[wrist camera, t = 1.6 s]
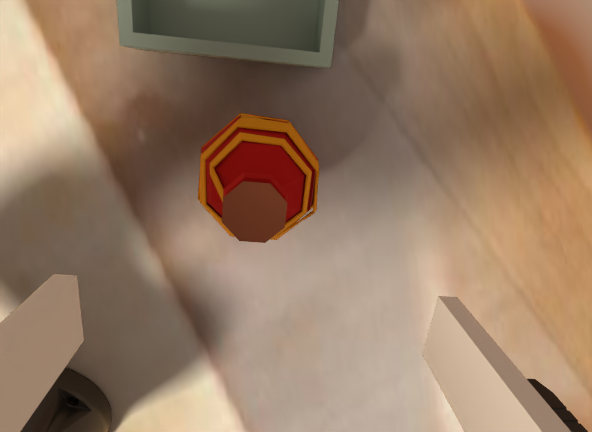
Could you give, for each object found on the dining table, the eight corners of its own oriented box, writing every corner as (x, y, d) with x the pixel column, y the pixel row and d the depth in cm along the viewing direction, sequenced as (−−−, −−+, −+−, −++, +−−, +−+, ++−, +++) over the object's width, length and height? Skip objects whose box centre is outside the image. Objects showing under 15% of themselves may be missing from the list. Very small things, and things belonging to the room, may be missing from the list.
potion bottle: (190, 182, 37) (141, 247, 23) (235, 85, 34) (212, 92, 20) (283, 227, 39) (291, 311, 25) (333, 139, 37) (373, 179, 23)
